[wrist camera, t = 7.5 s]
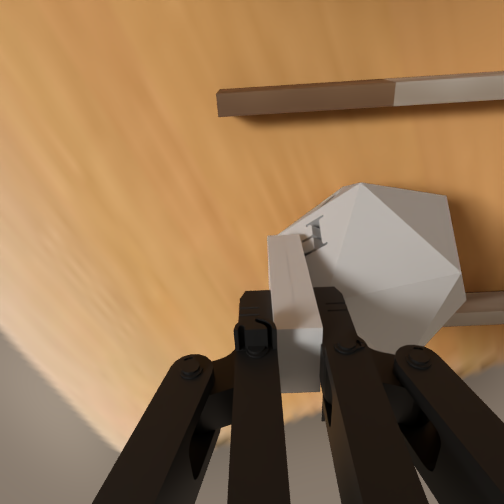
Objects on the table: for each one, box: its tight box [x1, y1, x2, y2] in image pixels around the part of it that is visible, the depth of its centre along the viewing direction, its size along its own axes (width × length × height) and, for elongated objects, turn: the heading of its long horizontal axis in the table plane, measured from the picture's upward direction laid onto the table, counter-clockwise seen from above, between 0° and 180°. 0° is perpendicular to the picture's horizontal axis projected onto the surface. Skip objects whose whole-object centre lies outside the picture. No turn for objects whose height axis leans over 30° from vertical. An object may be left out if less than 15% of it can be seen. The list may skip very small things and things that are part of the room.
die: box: [278, 183, 466, 354], centre depth 19 cm, size 8×9×10 cm
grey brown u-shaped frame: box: [216, 71, 504, 327], centre depth 21 cm, size 14×18×3 cm
